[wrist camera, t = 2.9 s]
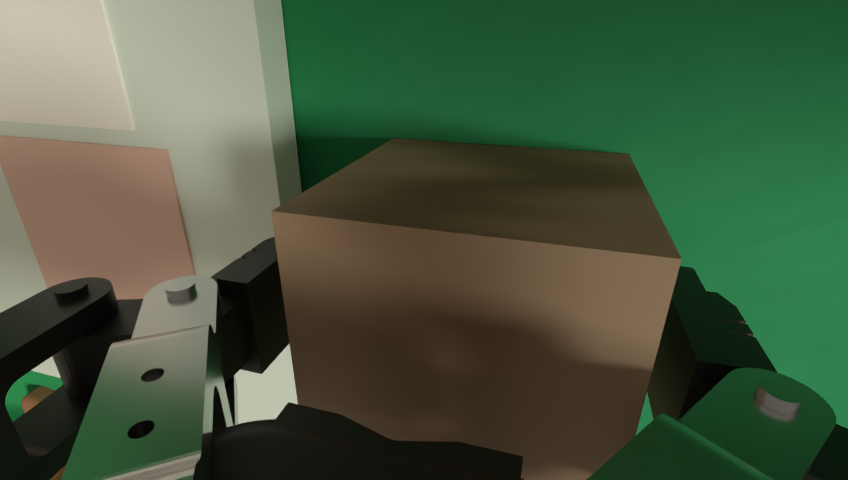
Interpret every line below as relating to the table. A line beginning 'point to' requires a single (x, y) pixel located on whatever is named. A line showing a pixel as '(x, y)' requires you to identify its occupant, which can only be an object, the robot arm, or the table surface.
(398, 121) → the table surface
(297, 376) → the walnut block
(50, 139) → the build plate
